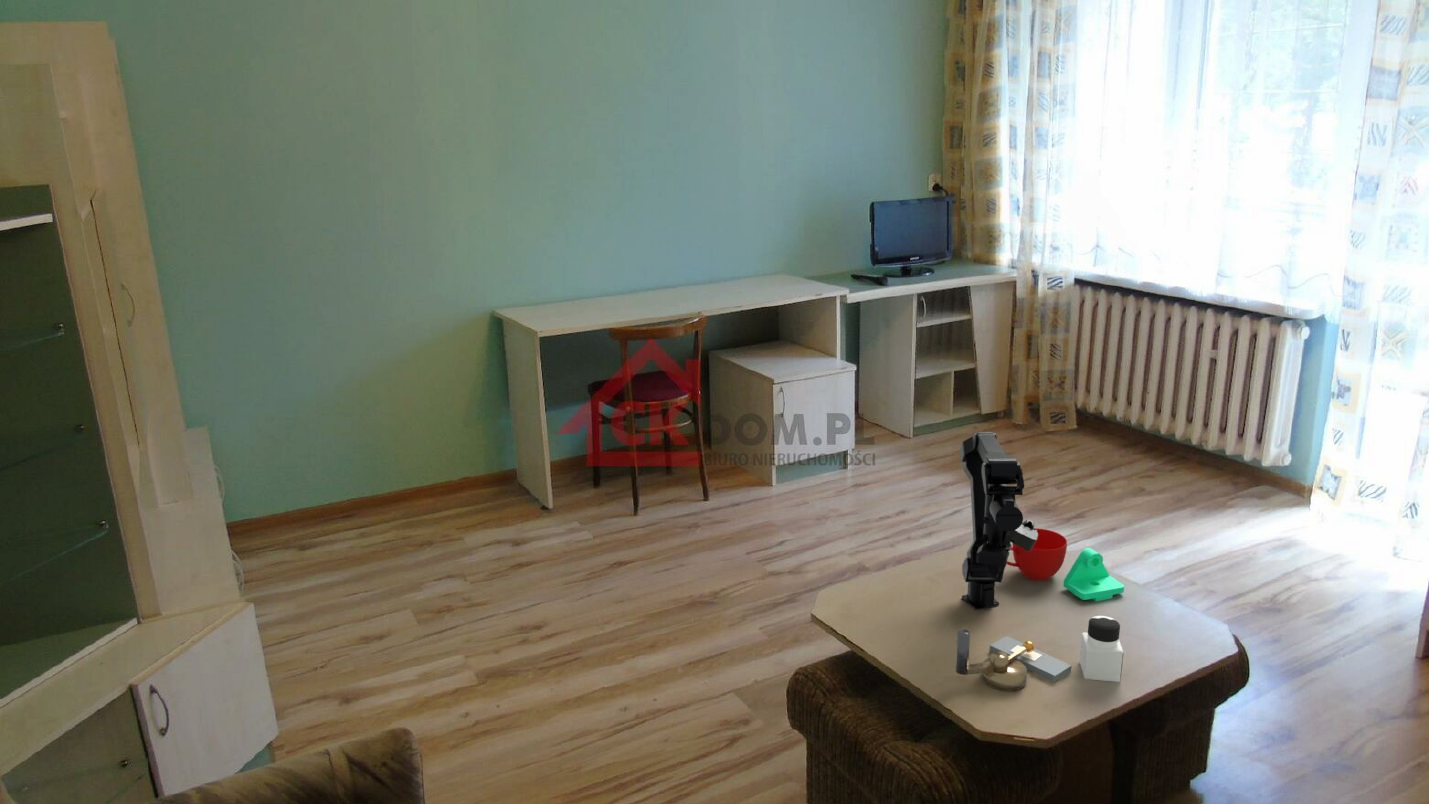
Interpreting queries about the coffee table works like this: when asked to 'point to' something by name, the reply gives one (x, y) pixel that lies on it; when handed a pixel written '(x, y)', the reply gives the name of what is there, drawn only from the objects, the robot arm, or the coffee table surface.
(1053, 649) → the coffee table surface
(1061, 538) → the ceramic cup
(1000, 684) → the crank handle
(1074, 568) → the camera mount
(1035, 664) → the plate
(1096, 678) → the medicine bottle
